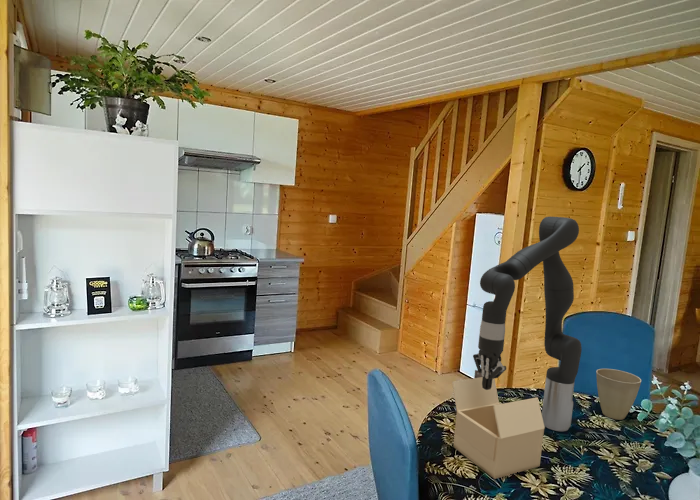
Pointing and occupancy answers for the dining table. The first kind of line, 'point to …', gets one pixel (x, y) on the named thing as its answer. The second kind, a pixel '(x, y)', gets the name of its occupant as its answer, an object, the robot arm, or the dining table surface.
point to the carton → (495, 443)
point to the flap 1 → (473, 393)
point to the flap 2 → (518, 417)
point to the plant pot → (616, 392)
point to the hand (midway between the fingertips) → (486, 388)
